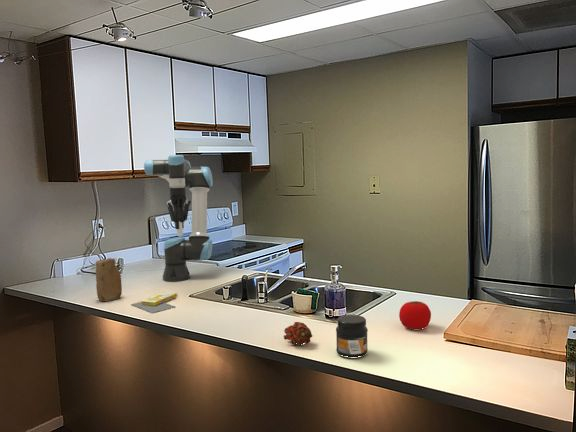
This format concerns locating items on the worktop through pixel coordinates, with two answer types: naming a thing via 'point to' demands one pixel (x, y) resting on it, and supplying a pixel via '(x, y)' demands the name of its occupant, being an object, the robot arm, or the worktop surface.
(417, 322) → the tomato
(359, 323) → the supplement container
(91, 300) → the worktop surface
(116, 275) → the block
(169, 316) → the worktop surface
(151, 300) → the candy box
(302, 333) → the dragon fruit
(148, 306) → the mat
